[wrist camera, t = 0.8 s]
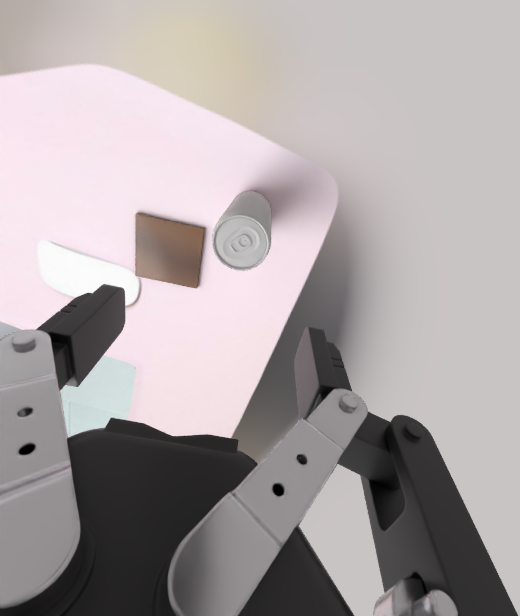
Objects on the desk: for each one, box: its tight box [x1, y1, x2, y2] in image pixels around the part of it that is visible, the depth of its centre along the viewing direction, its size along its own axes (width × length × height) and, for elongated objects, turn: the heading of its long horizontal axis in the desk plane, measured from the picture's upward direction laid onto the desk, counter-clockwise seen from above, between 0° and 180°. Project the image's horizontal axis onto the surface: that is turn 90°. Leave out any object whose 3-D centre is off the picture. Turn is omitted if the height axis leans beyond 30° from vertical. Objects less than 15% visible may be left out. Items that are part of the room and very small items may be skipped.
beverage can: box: [212, 191, 271, 271], centre depth 28 cm, size 5×5×12 cm
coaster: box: [136, 213, 204, 288], centre depth 36 cm, size 8×8×1 cm
